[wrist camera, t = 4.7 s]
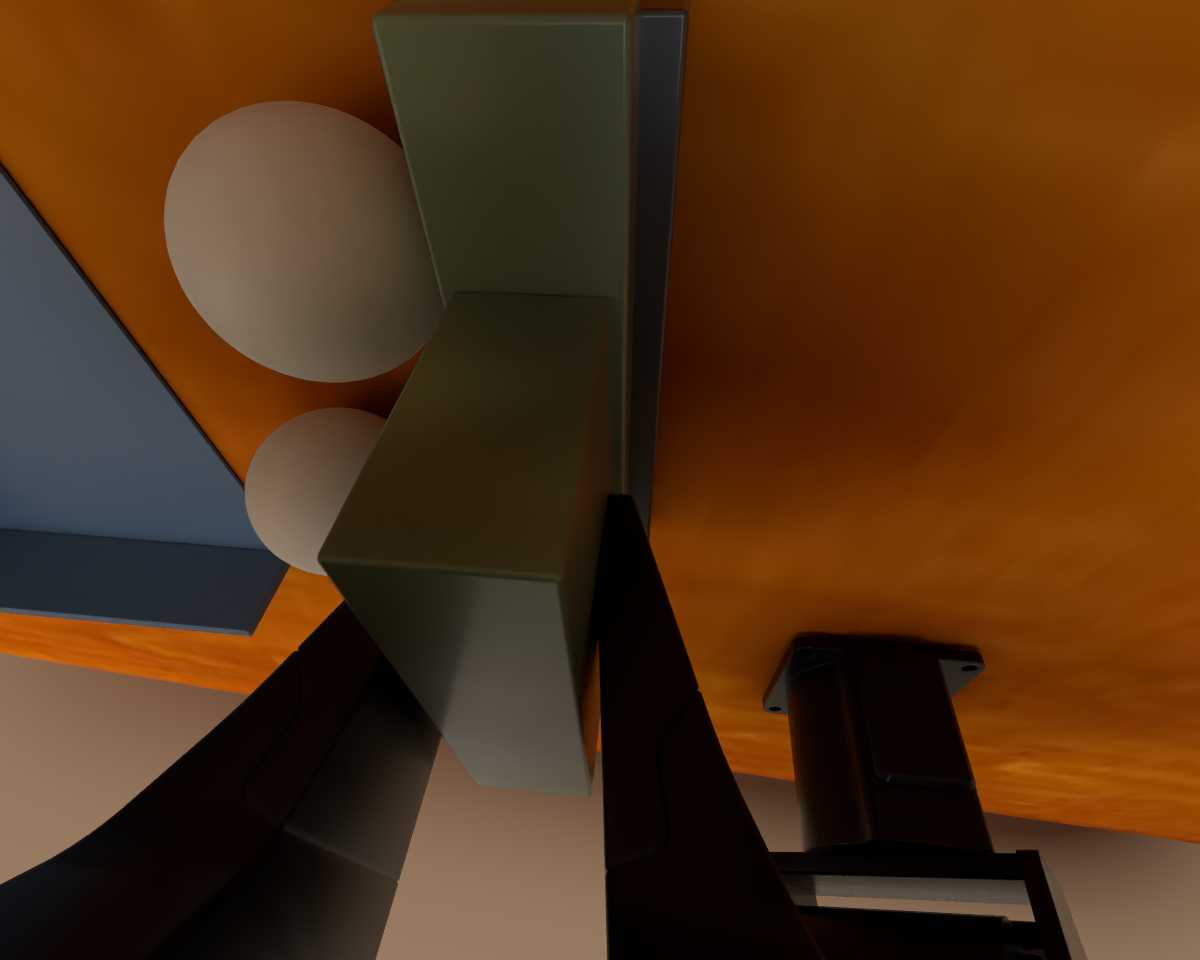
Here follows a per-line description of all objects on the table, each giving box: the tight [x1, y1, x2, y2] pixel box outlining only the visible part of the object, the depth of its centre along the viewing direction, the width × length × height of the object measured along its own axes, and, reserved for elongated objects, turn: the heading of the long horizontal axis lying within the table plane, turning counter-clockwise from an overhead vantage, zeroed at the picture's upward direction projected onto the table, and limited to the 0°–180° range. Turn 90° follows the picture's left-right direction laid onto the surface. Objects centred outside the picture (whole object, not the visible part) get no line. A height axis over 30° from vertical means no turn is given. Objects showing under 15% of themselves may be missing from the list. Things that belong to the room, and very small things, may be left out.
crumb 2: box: [245, 407, 387, 576], centre depth 14 cm, size 4×4×4 cm
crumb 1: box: [164, 100, 444, 383], centre depth 9 cm, size 4×4×4 cm
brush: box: [317, 0, 690, 798], centre depth 9 cm, size 3×12×7 cm, turn 1°
